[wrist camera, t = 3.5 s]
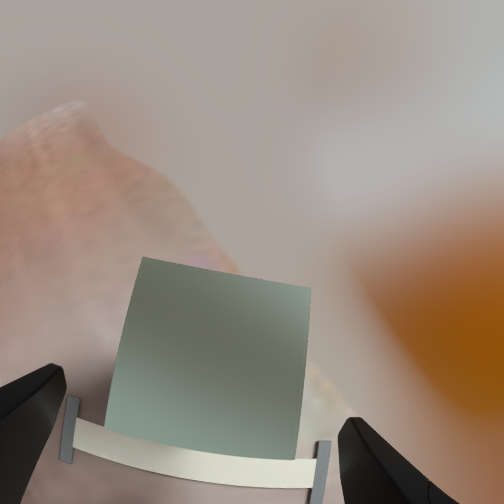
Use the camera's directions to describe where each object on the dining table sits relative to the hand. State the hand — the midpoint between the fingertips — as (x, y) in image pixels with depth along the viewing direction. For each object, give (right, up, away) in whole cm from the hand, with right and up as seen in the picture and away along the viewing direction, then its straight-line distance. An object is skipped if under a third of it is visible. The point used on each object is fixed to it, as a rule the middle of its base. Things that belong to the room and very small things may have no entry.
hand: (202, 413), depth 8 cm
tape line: (-2, -7, +6) cm, 10 cm away
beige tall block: (-1, -3, +9) cm, 9 cm away
